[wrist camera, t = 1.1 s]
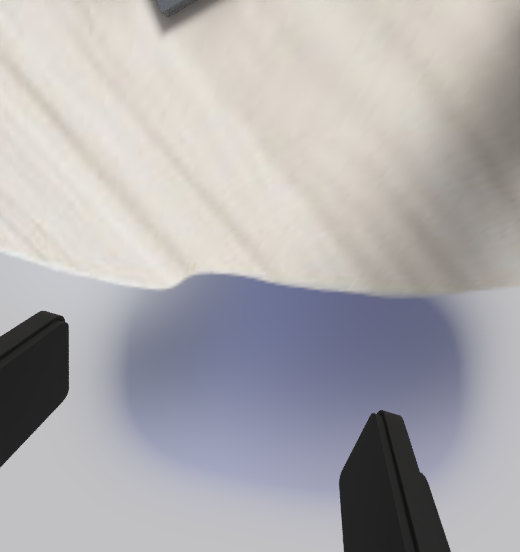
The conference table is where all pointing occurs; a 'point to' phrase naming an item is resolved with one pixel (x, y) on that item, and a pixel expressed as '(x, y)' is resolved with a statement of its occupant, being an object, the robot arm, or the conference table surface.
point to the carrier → (173, 5)
